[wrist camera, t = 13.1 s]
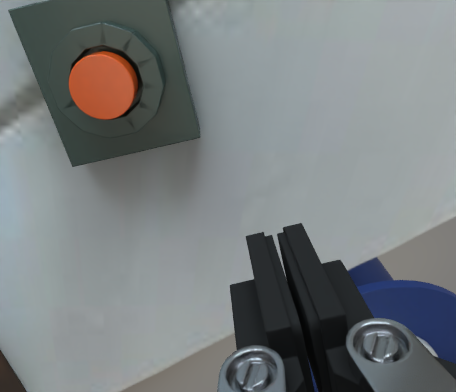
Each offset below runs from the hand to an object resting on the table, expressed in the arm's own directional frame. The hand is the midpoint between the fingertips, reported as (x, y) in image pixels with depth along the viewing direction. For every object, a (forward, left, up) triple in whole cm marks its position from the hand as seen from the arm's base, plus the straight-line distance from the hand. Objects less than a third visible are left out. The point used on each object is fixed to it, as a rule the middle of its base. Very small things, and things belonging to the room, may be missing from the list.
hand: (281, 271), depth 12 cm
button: (+4, +7, -15) cm, 18 cm away
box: (+4, +7, -19) cm, 21 cm away
